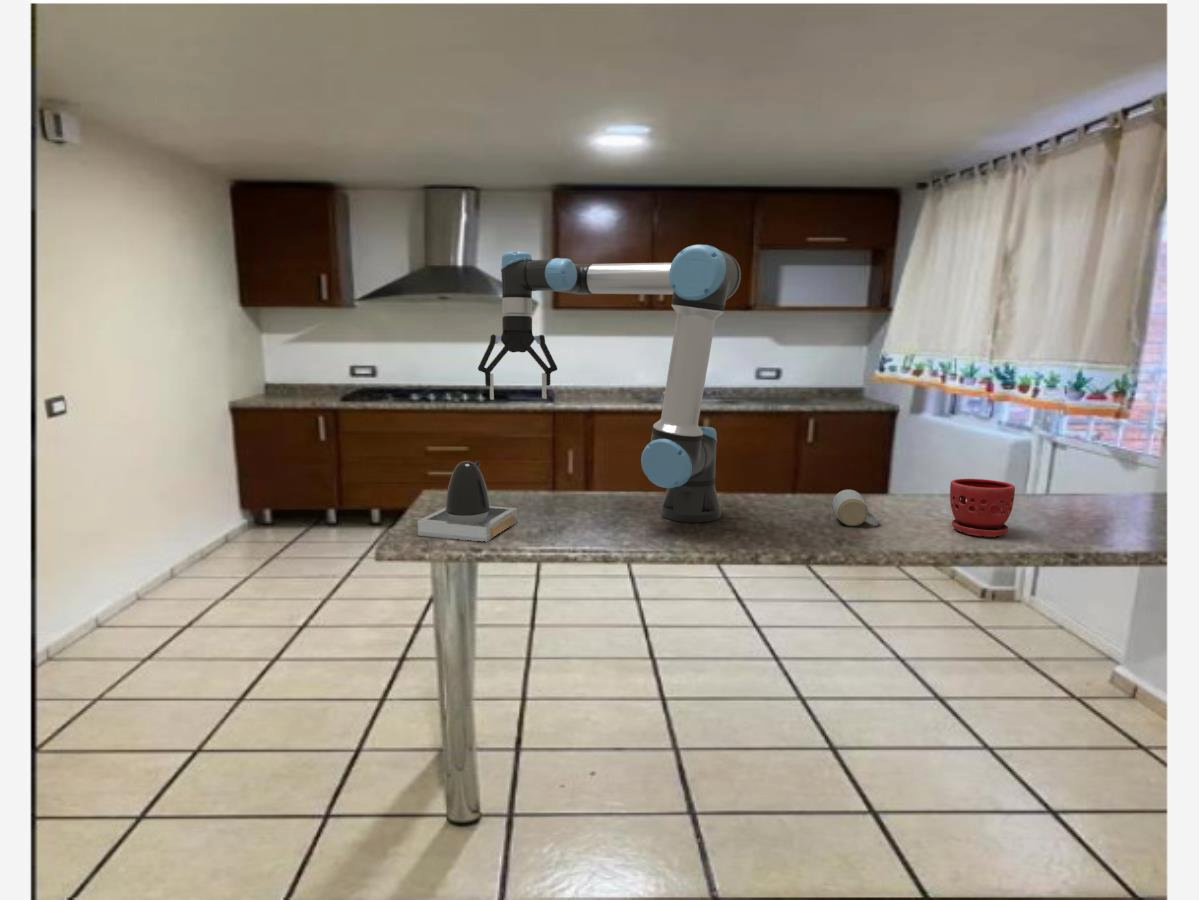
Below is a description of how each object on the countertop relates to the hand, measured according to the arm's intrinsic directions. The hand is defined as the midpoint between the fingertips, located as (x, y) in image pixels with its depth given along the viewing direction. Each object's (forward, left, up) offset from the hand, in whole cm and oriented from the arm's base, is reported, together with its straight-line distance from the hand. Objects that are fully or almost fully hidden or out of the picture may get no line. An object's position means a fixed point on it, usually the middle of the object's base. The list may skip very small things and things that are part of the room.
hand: (518, 398), depth 173 cm
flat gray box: (+3, +23, -29) cm, 37 cm away
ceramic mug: (-85, -10, -29) cm, 90 cm away
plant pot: (-112, -11, -29) cm, 116 cm away
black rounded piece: (+3, +23, -28) cm, 36 cm away
